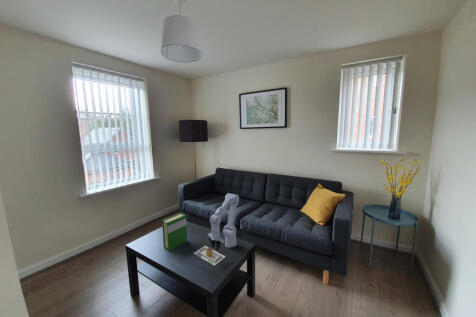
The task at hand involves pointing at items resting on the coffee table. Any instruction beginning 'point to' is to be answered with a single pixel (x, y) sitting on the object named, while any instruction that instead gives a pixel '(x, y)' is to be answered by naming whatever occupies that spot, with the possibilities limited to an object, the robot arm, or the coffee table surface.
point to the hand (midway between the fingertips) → (215, 248)
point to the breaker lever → (209, 251)
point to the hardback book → (174, 231)
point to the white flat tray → (211, 259)
